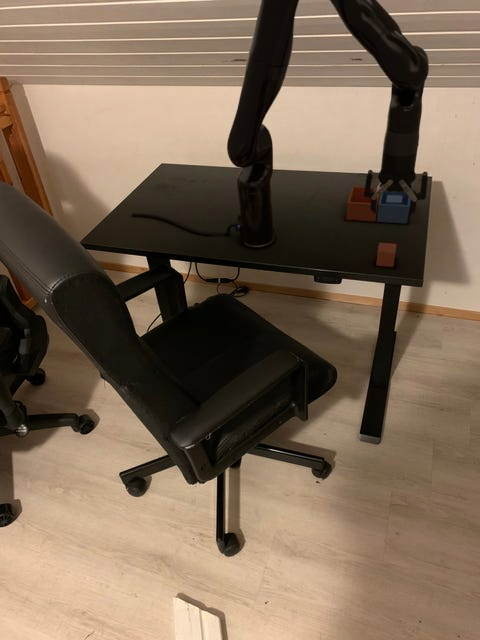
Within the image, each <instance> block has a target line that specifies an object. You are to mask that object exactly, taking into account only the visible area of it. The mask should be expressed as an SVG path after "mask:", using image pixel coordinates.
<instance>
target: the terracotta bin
mask: <svg viewBox="0 0 480 640" xmlns="http://www.w3.org/2000/svg"><path fill="white" fill-rule="evenodd" d="M377 187H378V186H377ZM377 187H374V186H371V187H370V190H371V191H374V190H375V189H376V188H377ZM364 191H365V186H353V185H352V187H351V190H350V193H349V197H348V199H347V203H346V219H345V220H346V221H362V222H377V213H378V204H379V200H380V195H381V194H380V195H379V196H378V198H377V208H376V213H373V211H371V209H370V207H371V198H369V197H365V196H364Z"/></svg>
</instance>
